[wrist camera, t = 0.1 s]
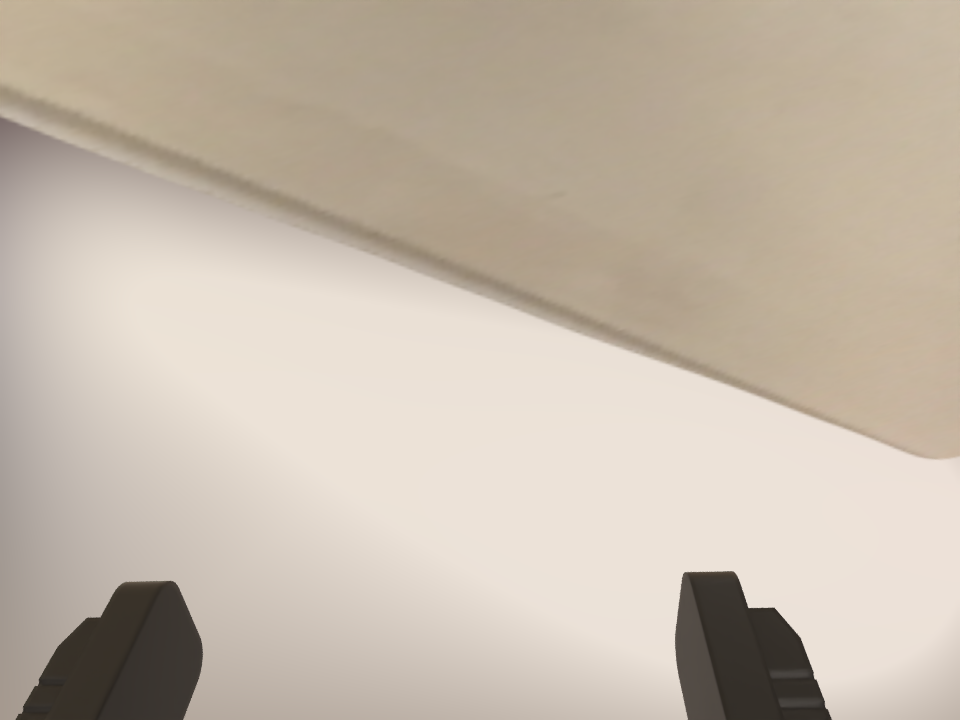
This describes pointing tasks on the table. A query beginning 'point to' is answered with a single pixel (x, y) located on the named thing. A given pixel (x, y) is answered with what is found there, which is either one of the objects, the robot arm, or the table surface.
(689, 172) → the table surface
